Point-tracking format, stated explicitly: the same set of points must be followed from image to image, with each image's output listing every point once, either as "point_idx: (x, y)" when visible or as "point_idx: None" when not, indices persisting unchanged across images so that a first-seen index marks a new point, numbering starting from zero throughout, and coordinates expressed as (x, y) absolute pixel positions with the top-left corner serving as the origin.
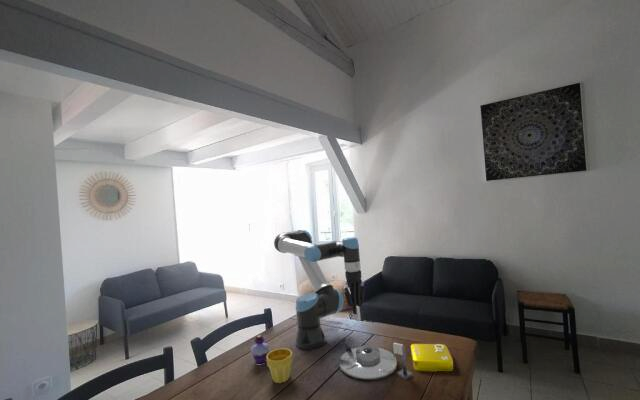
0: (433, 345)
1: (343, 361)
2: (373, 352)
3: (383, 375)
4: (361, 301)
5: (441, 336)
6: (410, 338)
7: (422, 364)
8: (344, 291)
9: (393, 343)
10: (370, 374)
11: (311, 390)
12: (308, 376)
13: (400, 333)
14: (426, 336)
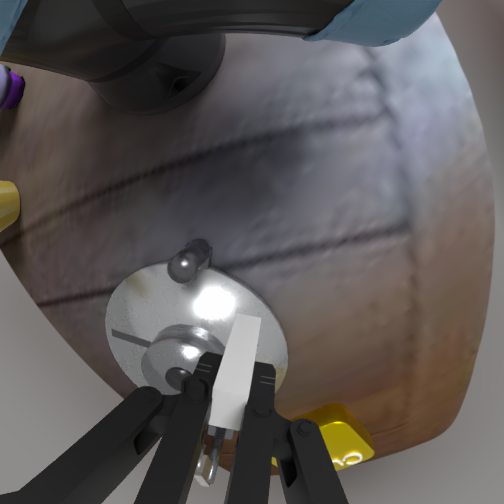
0: (356, 449)
1: (126, 298)
2: None
3: None
4: (278, 464)
5: (455, 395)
6: (425, 354)
7: None
8: (17, 494)
9: (194, 475)
10: None
11: (38, 295)
12: (45, 249)
13: (450, 310)
14: (449, 375)
